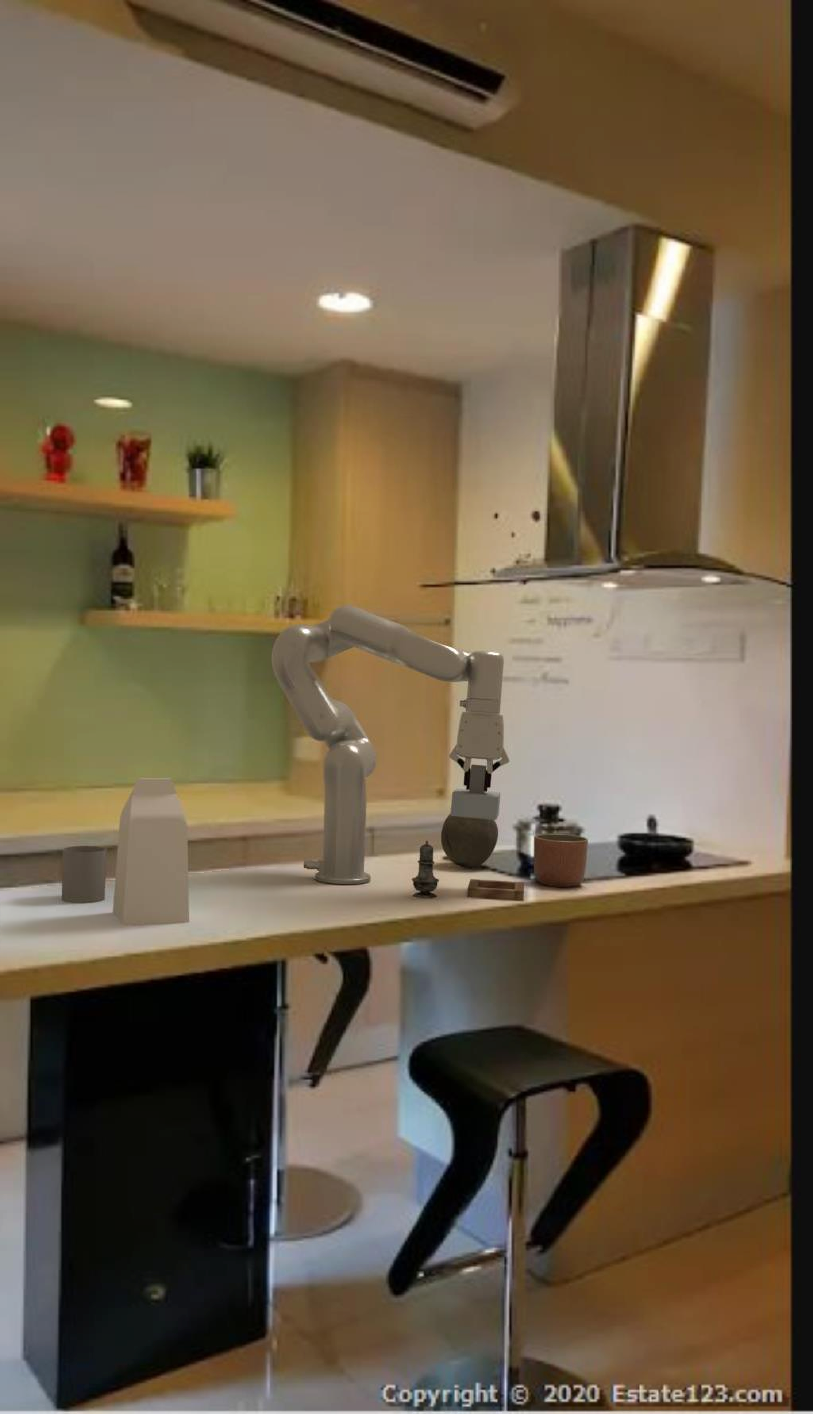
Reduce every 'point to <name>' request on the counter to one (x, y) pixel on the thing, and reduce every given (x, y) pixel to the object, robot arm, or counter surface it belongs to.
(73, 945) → the counter surface
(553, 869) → the planter
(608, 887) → the counter surface
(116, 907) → the milk
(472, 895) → the socket board
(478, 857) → the dark brown ball
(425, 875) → the salt shaker
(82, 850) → the cup
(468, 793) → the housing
